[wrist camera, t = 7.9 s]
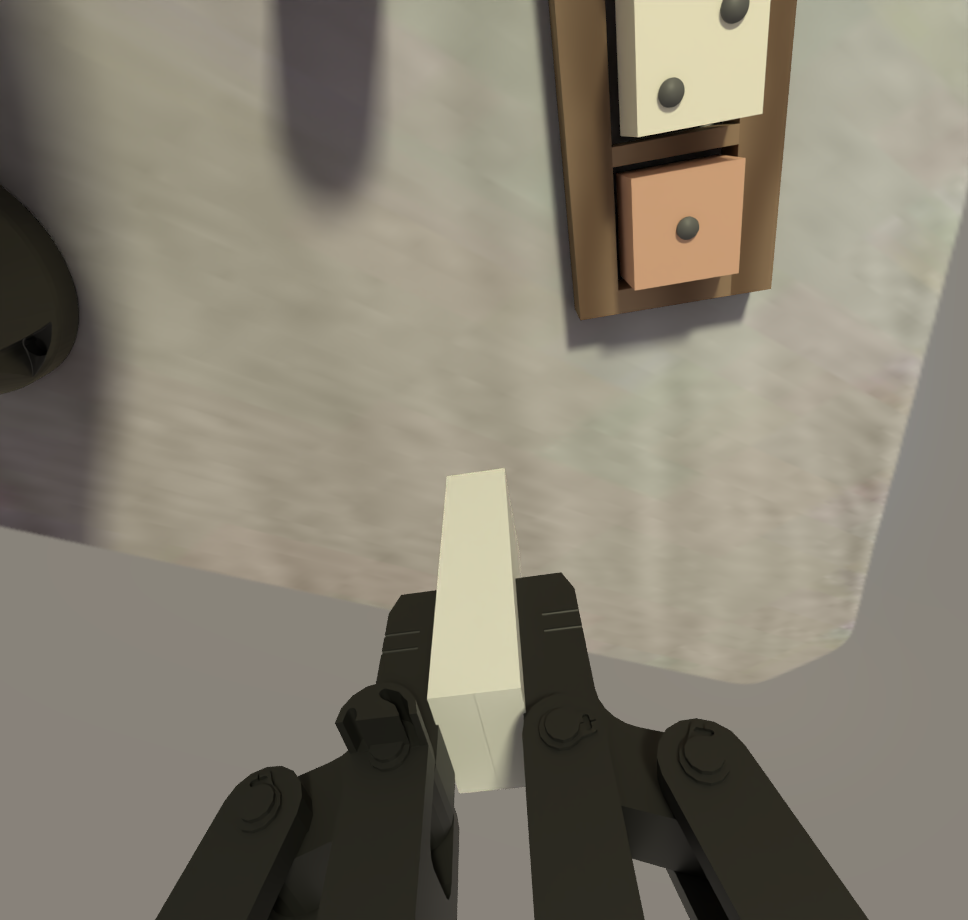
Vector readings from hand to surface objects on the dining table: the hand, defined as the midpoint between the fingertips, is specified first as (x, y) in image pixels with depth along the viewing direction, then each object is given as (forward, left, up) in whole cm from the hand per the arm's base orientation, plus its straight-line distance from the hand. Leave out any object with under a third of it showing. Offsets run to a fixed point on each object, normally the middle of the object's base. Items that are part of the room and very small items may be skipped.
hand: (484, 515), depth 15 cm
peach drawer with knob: (+12, +2, -26) cm, 28 cm away
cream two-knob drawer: (+12, +10, -24) cm, 29 cm away
